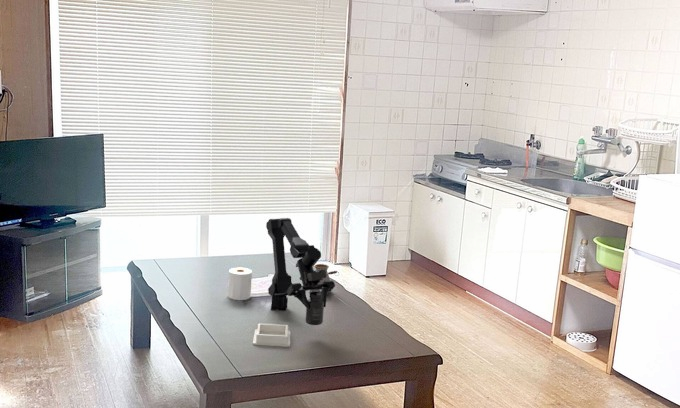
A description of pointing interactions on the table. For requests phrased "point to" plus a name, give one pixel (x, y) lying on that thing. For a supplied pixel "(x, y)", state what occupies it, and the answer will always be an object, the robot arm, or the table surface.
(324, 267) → the coffee pot
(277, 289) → the robot arm
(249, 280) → the toilet paper
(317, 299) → the supplement bottle
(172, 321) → the table surface
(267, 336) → the holder
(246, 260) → the table surface
